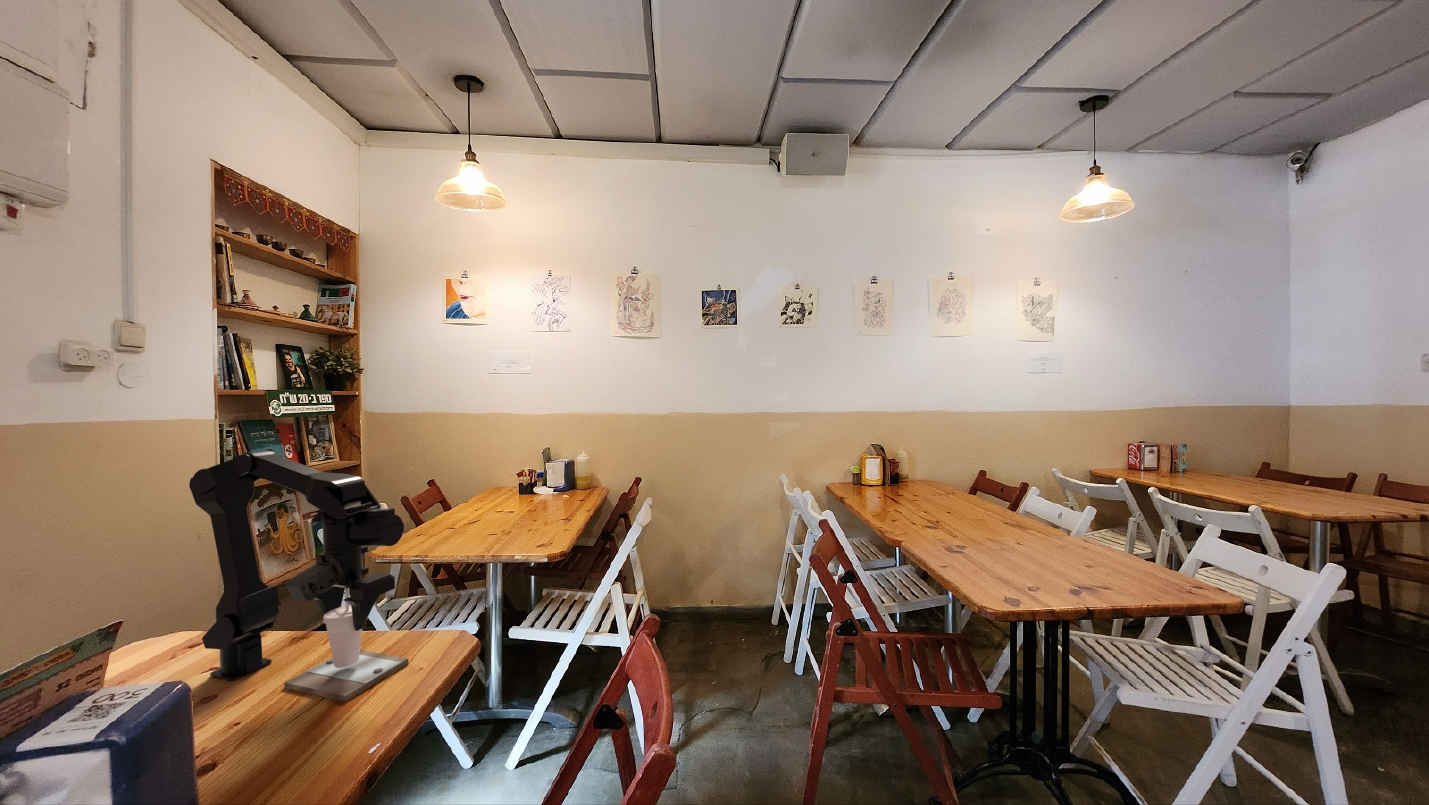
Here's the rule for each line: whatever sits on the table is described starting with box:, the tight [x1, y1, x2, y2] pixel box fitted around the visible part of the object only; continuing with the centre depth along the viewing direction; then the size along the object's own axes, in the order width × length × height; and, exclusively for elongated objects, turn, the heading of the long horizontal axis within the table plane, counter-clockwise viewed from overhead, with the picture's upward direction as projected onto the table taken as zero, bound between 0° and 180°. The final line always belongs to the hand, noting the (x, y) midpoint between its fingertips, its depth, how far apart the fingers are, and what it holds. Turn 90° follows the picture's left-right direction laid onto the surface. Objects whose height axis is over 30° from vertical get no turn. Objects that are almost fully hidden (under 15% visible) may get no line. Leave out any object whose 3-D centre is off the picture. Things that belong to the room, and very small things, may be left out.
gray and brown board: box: [283, 649, 409, 702], centre depth 90 cm, size 15×12×1 cm
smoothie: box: [322, 588, 363, 668], centre depth 90 cm, size 6×6×14 cm
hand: (345, 627), depth 90 cm, fingers closed on smoothie, 6 cm apart
